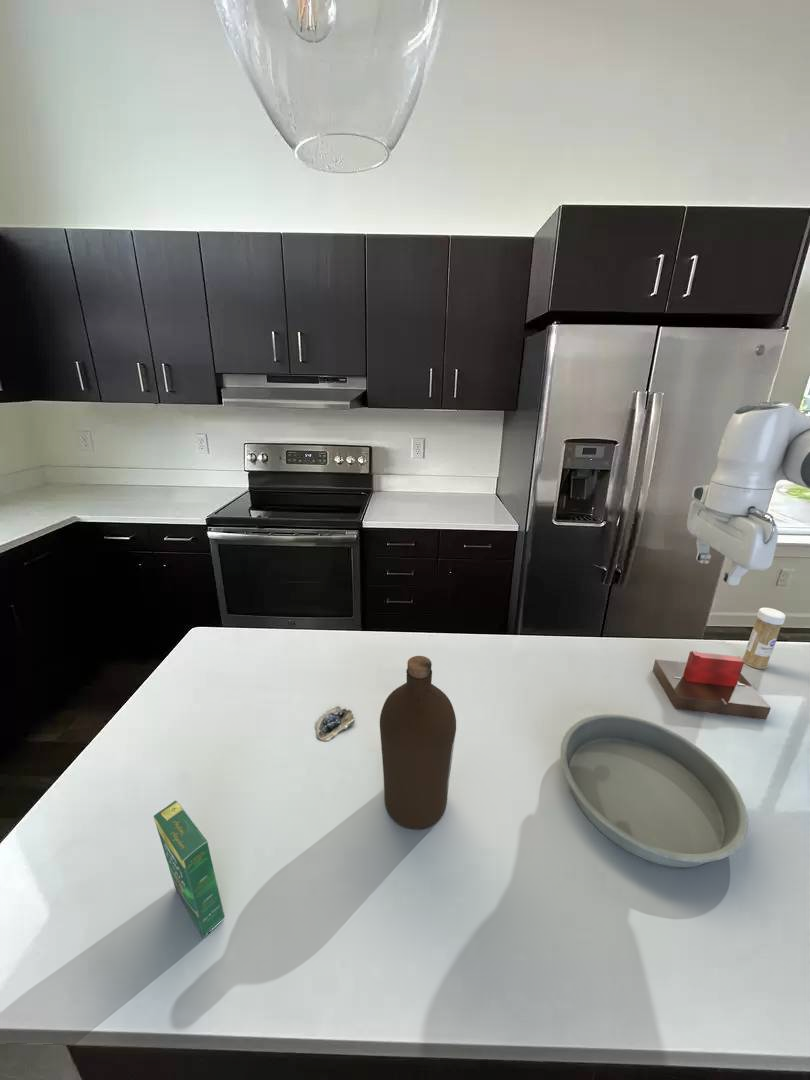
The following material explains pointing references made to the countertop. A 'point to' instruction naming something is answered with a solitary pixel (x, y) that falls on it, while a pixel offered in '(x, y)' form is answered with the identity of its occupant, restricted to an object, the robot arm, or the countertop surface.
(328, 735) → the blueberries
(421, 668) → the olive oil
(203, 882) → the coffee box
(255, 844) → the countertop surface
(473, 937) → the countertop surface
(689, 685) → the base
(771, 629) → the sprinkles bottle
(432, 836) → the countertop surface
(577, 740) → the cake pan
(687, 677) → the red block
